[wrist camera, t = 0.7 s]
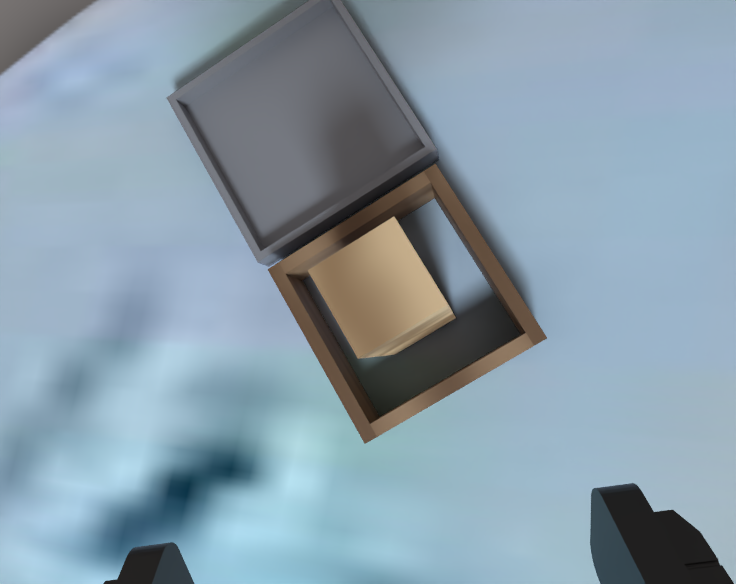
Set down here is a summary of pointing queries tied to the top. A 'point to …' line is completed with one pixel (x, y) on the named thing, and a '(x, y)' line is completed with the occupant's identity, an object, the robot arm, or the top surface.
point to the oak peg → (381, 292)
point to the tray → (301, 128)
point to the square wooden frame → (326, 346)
